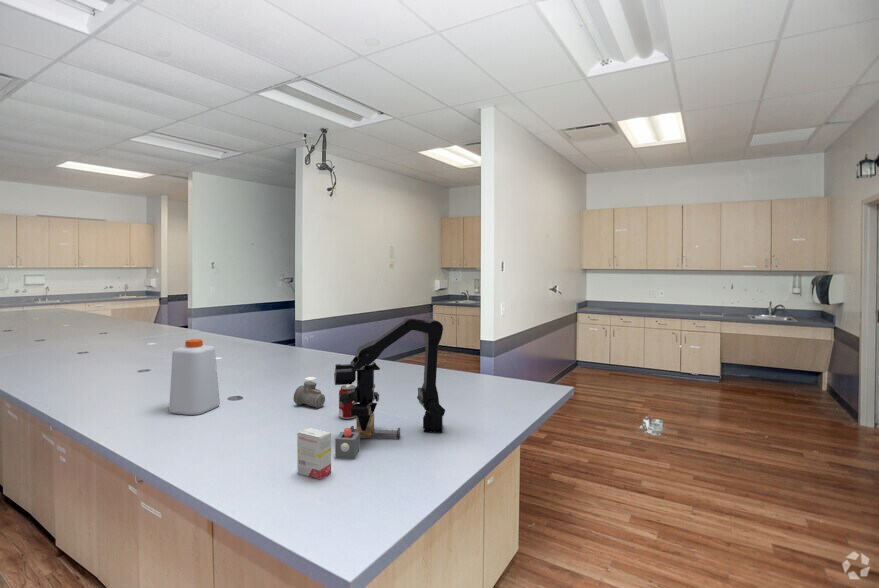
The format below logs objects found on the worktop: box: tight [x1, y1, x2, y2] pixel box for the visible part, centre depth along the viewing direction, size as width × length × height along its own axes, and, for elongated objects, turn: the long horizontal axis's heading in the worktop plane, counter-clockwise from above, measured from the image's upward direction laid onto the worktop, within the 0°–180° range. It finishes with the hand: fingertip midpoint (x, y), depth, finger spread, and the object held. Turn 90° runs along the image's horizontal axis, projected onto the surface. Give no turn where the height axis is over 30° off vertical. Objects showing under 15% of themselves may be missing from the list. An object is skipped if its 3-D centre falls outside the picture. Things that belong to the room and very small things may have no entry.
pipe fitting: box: [293, 380, 326, 409], centre depth 186 cm, size 12×8×10 cm
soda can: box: [338, 384, 358, 420], centre depth 172 cm, size 7×7×12 cm
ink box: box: [296, 427, 332, 480], centre depth 125 cm, size 9×5×12 cm, turn 63°
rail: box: [350, 425, 401, 441], centre depth 153 cm, size 17×3×3 cm, turn 87°
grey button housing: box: [334, 431, 361, 460], centre depth 138 cm, size 6×6×6 cm
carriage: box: [355, 413, 375, 439], centre depth 153 cm, size 5×5×7 cm
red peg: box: [343, 427, 351, 438], centre depth 138 cm, size 2×2×4 cm
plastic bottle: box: [168, 338, 221, 416], centre depth 179 cm, size 15×15×28 cm
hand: (365, 427), depth 153 cm, fingers closed on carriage, 5 cm apart
